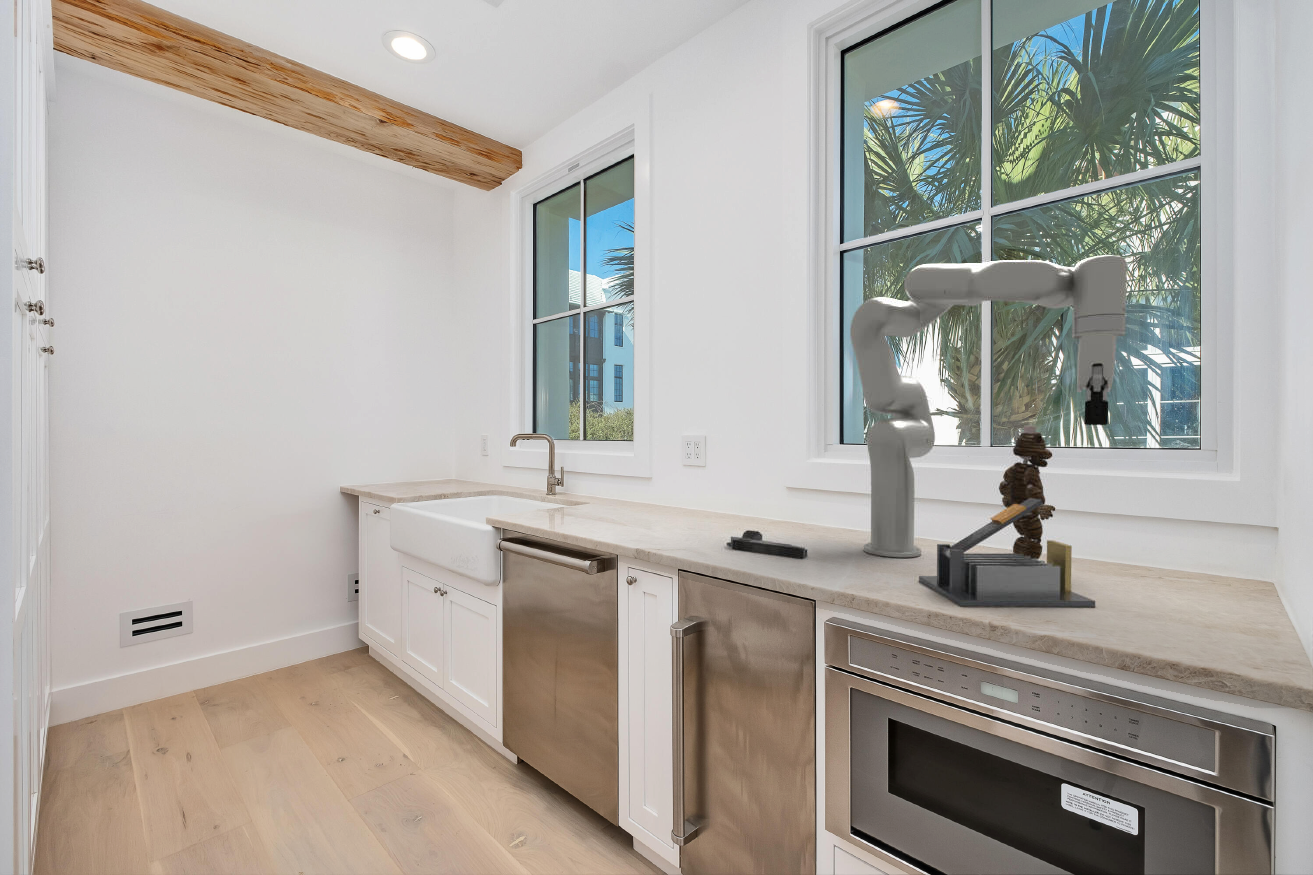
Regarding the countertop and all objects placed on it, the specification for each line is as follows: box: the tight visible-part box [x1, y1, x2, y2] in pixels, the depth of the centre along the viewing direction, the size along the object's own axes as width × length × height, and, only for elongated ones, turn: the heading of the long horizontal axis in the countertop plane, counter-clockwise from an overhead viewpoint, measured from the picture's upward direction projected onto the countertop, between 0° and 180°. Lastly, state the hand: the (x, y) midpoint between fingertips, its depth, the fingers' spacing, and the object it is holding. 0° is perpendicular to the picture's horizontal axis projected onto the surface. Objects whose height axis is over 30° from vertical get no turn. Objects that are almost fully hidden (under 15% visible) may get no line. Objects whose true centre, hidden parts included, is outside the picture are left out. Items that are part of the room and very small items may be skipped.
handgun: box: [726, 529, 808, 560], centre depth 143 cm, size 3×21×12 cm
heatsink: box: [918, 539, 1096, 608], centre depth 105 cm, size 22×16×9 cm
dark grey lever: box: [941, 498, 1043, 558], centre depth 105 cm, size 19×4×2 cm
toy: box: [998, 425, 1056, 560], centre depth 121 cm, size 20×7×30 cm, turn 168°
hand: (1095, 424), depth 105 cm, fingers open, 9 cm apart
